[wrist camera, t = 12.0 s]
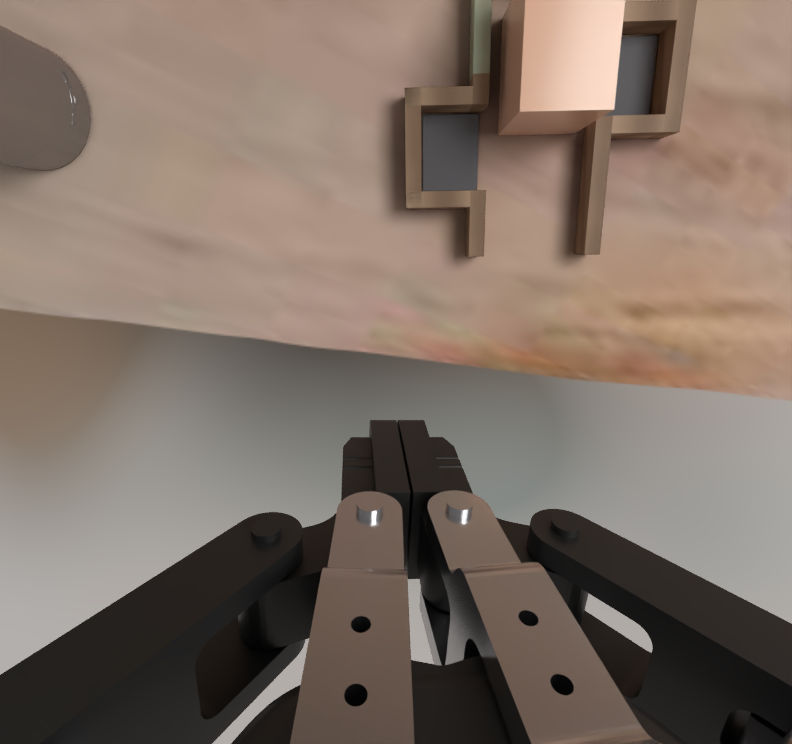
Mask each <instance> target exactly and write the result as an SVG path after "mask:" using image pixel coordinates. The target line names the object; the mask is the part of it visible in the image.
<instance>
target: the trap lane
mask: <svg viewBox="0 0 792 744" xmlns="http://www.w3.org/2000/svg"><path fill="white" fill-rule="evenodd" d="M696 3H697V0H657V1H625V7H624V17H623V27H622V35H633V34H659V41H658V50H657V58H656V67H655V76H654V84H653V93H652V102H651V110H650V115H618V116H603V117H601V118H599V119H598V120H596V121H594V122H593V123H591V124H589V125H587V126H586V127H585V129H584V141H583V153H582V165H581V178H580V190H579V202H578V214H577V226H576V238H575V250H574V253H575V254H583V255H597V254H600V246H601V236H602V226H603V215H604V205H605V195H606V184H607V174H608V164H609V153H610V143H611V139H641V138H664V137H667V136H669V135H672V134H675V133H678V132H679V131H680V124H681V116H682V109H683V101H684V94H685V86H686V79H687V71H688V63H689V56H690V48H691V41H692V33H693V26H694V18H695V10H696ZM491 17H492V0H471V18H470V64H469V86H452V87H415V88H405V158H406V209H451V208H466V247H465V255H466V256H469V257H476V256H484V235H485V204H486V190H465V191H421V113H454V112H484V110H485V109H486V107H487V106H488V104H489V80H490V48H491Z"/></svg>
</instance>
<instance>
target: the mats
mask: <svg viewBox="0 0 792 744" xmlns="http://www.w3.org/2000/svg"><path fill="white" fill-rule="evenodd" d="M657 37H658V36H635V37H621V47H620V57H619V67H618V77H617V87H616V97H615V107H614V110H613V111H611V112H609V113H608V114H606V115H604V116H618V115H649V106H650V98H651V89H652V80H653V72H654V63H655V54H656V45H657ZM478 128H479V114H463V115H423V191H456V190H477V165H478Z"/></svg>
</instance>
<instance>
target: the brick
mask: <svg viewBox="0 0 792 744" xmlns="http://www.w3.org/2000/svg"><path fill="white" fill-rule="evenodd" d="M624 7H625V0H511V1H510V3H509V5H508V8H507V10H506V12H505V14H504V17H503V20H502V45H501V70H500V95H499V120H498V135H535V134H574V133H576V132H577V131H579V130H581V129H582V128H584V127H586V126H587V125H589V124H591V123H593V122H594V121H596V120H598V119H599V118H601V117H603V116H604V115H606V114H608V113H609V112H611V111H613V110H614V107H615V97H616V87H617V77H618V67H619V57H620V47H621V37H622V27H623V17H624Z"/></svg>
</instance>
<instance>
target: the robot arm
mask: <svg viewBox="0 0 792 744" xmlns="http://www.w3.org/2000/svg"><path fill="white" fill-rule="evenodd" d="M89 129H90V108H89V104H88V100H87V96H86V93H85V91H84V89H83V87H82V84H81V82H80V80H79V79H78V77H77V76H76V75H75V73H74V72H73V70H72V69H71V68H70V67H69V66H68V65H67V64H66V63H65V62H64V61H63V60H62V59H61V58H60V57H58V56H57V55H56V54H54V53H53V52H51V51H50V50H48V49H46V48H44V47H42V46H40V45H38V44H36V43H34V42H32V41H30V40H28V39H26V38H24V37H22V36H20V35H18V34H16V33H14V32H12V31H10V30H9V29H7V28H5V27H3V26H1V25H0V164H5V165H11V166H17V167H23V168H29V169H35V170H53V169H57V168H61V167H63V166H65V165H66V164H68V163H70V162H72V161H73V160H74V159H75V158H76V157H77V156H78V155H79V154H80V152H81V150H82V149H83V147H84V146H85V144H86V141H87V138H88V135H89ZM407 577H408V579H420V584H421V595H420V611H421V614H422V619H423V622H424V626H425V630H426V634H427V638H428V642H429V646H430V649H431V654H432V657H433V661H434V665H433V664H428V663H423V662H418V661H413V660H411V650H410V627H409V607H408V606H409V604H408V583H407V582H408V581H407ZM588 593H589V594H591V595H593V596H594V597H596V598H598V599H599V600H601V601H602V602H604V603H606V604H607V605H609V606H611V607H612V608H614V609H615V610H617V611H619V612H620V613H622V614H623V615H625V616H627V617H628V618H630V619H632V620H633V621H635V622H636V623H638V624H639V625H640V626H641V627H643V629H644V630H645V631H646V632H647V633H648V635H649V637H650V638H651V641H652V645H653V651H652V653H650V652H648V651H646V650H645V649H643V648H642V647H640V646H638V645H637V644H635V643H634V642H632V641H631V640H629V639H628V638H626V637H624V636H623V635H622V634H620V633H618V632H617V631H615V630H614V629H612V628H611V627H609V626H608V625H606V624H605V623H603V622H601V621H600V620H598V619H597V618H595V617H594V616H592V615H591V614H589V613H587V612H586V611H585V605H586V601H587V597H588ZM308 638H309V643H308V649H307V654H306V659H305V664H304V670H303V675H302V681H301V685H299V686H297V687H295V688H294V689H292V690H290V691H288V692H286V693H285V694H283V695H282V696H280V697H279V698H277V699H276V700H274V701H273V702H272V703H270V704H269V705H268V706H267V707H266V708H265V709H264V710H262V711H261V712H260V713H259V714H258V715H257V716H256V717H255V718H254V719H253V720H252V721H251V722H250V723H249V724H248V725H247V726H246V728H245V729H244V730H243V731H242V732H241V733H240V734H239V736H238V737H237V738H236V739H235V740H234V741H233V742H232V744H792V624H791V623H789V622H787V621H785V620H783V619H781V618H779V617H777V616H775V615H773V614H771V613H769V612H768V611H765V610H764V609H761V608H760V607H758V606H756V605H753V604H752V603H750V602H748V601H746V600H744V599H742V598H740V597H738V596H736V595H734V594H732V593H730V592H728V591H726V590H724V589H723V588H721V587H719V586H717V585H714V584H713V583H711V582H709V581H706V580H705V579H703V578H701V577H699V576H697V575H695V574H693V573H691V572H689V571H687V570H685V569H683V568H681V567H680V566H678V565H676V564H674V563H672V562H670V561H668V560H666V559H664V558H662V557H660V556H658V555H656V554H654V553H652V552H650V551H648V550H646V549H644V548H642V547H640V546H639V545H637V544H635V543H633V542H631V541H629V540H627V539H625V538H623V537H621V536H619V535H617V534H615V533H613V532H611V531H609V530H607V529H605V528H603V527H601V526H599V525H598V524H596V523H593V522H591V521H590V520H588V519H586V518H584V517H582V516H580V515H577V514H575V513H572V512H569V511H566V510H559V509H547V510H542V511H539V512H537V513H535V514H534V515H533V517H532V518H531V522H530V526H528V525H523V524H518V523H513V522H508V521H504V520H501V519H498V518H496V517H495V515H494V514H493V512H492V510H491V508H490V507H489V505H488V504H487V503H486V502H485V501H484V500H483V499H481V498H480V497H478V496H476V495H474V494H473V493H472V490H471V488H470V485H469V483H468V481H467V478H466V475H465V473H464V470H463V468H462V466H461V463H460V460H459V459H458V456H457V453H456V451H455V448H454V446H453V445H451V444H450V443H449V442H448V441H447V440H445V439H444V438H443V437H429V435H428V431H427V428H426V425H425V422H424V420H398V422H396V420H370V434H369V437H366V438H364V437H363V438H360V437H352V438H350V440H349V441H348V442H347V443H346V445H344V447H343V470H342V499H341V502H340V504H339V506H338V508H337V513H336V514H335V515H334V516H333V517H331V518H330V519H328V520H326V521H325V522H322V523H320V524H317V525H314V526H309V527H305V528H302V526H301V524H300V522H299V521H298V520H297V519H296V518H294V517H292V516H290V515H287V514H284V513H278V512H269V513H261V514H257V515H254V516H251V517H249V518H247V519H245V520H243V521H242V522H240V523H238V524H237V525H235V526H234V527H232V528H231V529H229V530H227V531H226V532H224V533H223V534H221V535H220V536H218V537H216V538H215V539H213V540H212V541H210V542H208V543H207V544H206V545H204V546H202V547H201V548H199V549H197V550H196V551H194V552H193V553H191V554H190V555H188V556H187V557H185V558H183V559H182V560H180V561H179V562H177V563H175V564H174V565H172V566H171V567H169V568H168V569H166V570H164V571H163V572H162V573H160V574H158V575H157V576H155V577H153V578H152V579H150V580H149V581H147V582H146V583H144V584H142V585H141V586H139V587H138V588H136V589H135V590H133V591H132V592H130V593H128V594H127V595H125V596H124V597H122V598H120V599H119V600H117V601H116V602H114V603H113V604H111V605H110V606H108V607H106V608H105V609H103V610H102V611H100V612H98V613H97V614H95V615H94V616H92V617H91V618H89V619H88V620H86V621H84V622H83V623H81V624H80V625H78V626H76V627H75V628H73V629H72V630H70V631H69V632H67V633H66V634H64V635H62V636H61V637H59V638H58V639H56V640H54V641H53V642H51V643H50V644H48V645H47V646H45V647H44V648H42V649H41V650H39V651H37V652H36V653H34V654H32V655H31V656H29V657H28V658H26V659H25V660H23V661H21V662H20V663H18V664H17V665H15V666H14V667H12V668H11V669H9V670H7V671H6V672H4V673H3V674H1V675H0V744H212V743H213V742H214V741H215V740H216V739H217V738H218V737H219V736H220V735H221V733H223V732H224V731H225V730H226V728H227V727H228V726H229V725H230V724H231V723H232V722H233V721H234V720H235V719H236V718H237V717H238V716H239V715H240V714H241V713H242V712H243V711H244V710H245V709H246V708H247V707H248V706H249V705H250V704H251V703H252V702H253V701H254V700H255V699H256V698H257V696H259V694H261V693H262V691H263V690H264V689H265V688H266V687H267V686H268V685H269V684H270V683H271V682H272V681H273V680H274V679H275V678H276V677H277V676H278V675H279V674H280V673H281V672H282V671H283V670H284V669H285V668H286V667H287V666H288V665H289V664H290V663H291V662H292V661H293V660H294V659H295V658H296V657H297V655H298V654H299V653H300V651H301V650H302V648H303V646H304V643H305V639H308Z"/></svg>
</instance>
